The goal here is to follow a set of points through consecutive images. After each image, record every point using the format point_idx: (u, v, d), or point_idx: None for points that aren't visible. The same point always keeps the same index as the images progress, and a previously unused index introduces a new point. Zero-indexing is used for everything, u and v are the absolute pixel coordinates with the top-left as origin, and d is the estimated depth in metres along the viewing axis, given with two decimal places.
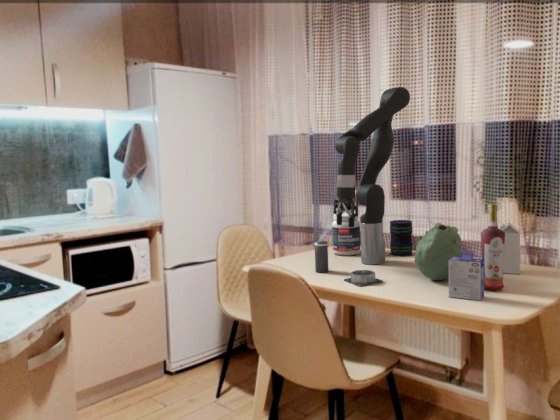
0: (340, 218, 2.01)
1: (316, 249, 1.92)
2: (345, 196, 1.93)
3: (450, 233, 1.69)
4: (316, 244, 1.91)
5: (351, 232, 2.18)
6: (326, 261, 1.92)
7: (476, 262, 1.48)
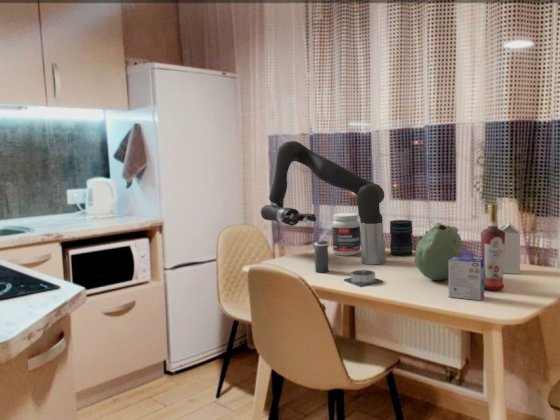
0: (310, 217, 2.06)
1: (316, 249, 1.92)
2: (286, 222, 2.12)
3: (450, 233, 1.69)
4: (316, 244, 1.91)
5: (351, 232, 2.18)
6: (326, 261, 1.92)
7: (476, 262, 1.48)
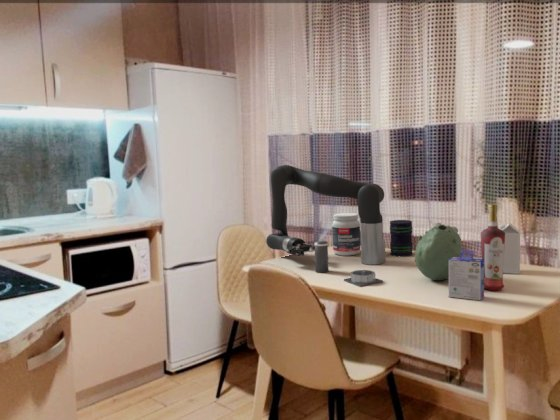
0: None
1: (316, 249, 1.92)
2: None
3: (450, 233, 1.69)
4: (316, 244, 1.91)
5: (351, 232, 2.18)
6: (326, 261, 1.92)
7: (476, 262, 1.48)
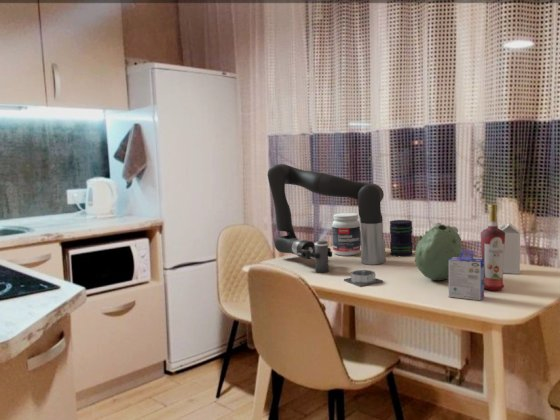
0: None
1: (316, 249, 1.92)
2: None
3: (450, 233, 1.69)
4: (316, 244, 1.91)
5: (351, 232, 2.18)
6: (326, 261, 1.92)
7: (476, 262, 1.48)
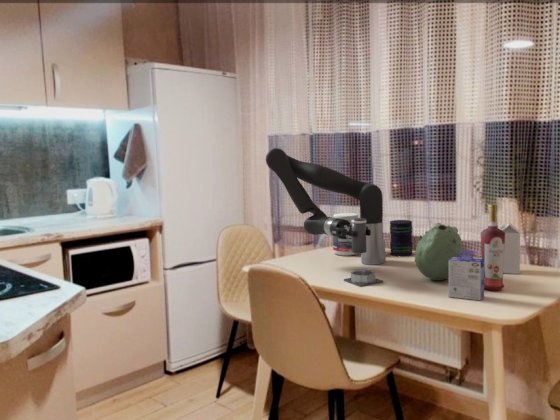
0: None
1: (353, 227, 1.73)
2: (336, 235, 1.83)
3: (450, 233, 1.69)
4: (354, 221, 1.73)
5: None
6: (364, 240, 1.74)
7: (476, 262, 1.48)
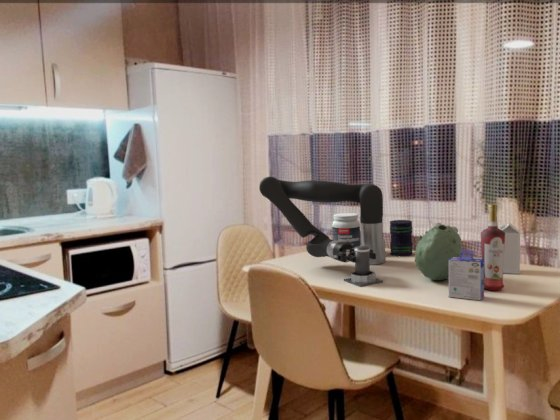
0: (369, 254, 1.78)
1: (357, 255, 1.74)
2: None
3: (450, 233, 1.69)
4: (357, 250, 1.73)
5: (351, 232, 2.18)
6: (368, 269, 1.74)
7: (476, 262, 1.48)
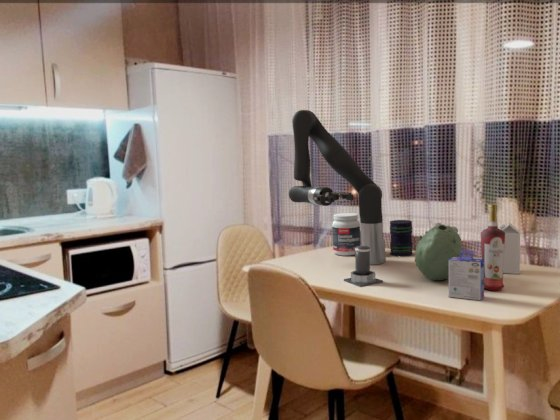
0: (347, 196, 1.87)
1: (357, 255, 1.74)
2: (319, 202, 1.93)
3: (450, 233, 1.69)
4: (358, 249, 1.73)
5: (351, 232, 2.18)
6: (368, 268, 1.74)
7: (476, 262, 1.48)
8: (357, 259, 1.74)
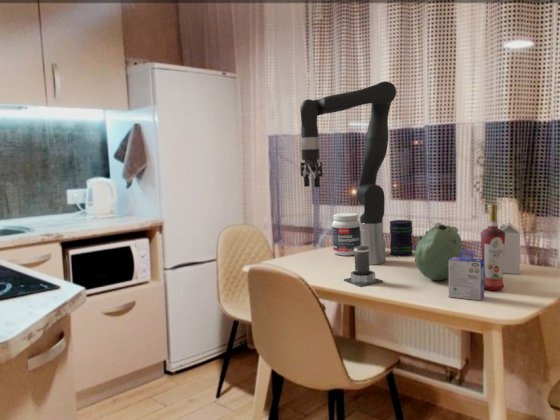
0: (307, 180, 2.08)
1: (357, 256, 1.73)
2: (309, 158, 2.00)
3: (450, 233, 1.69)
4: (357, 250, 1.73)
5: (351, 232, 2.18)
6: (368, 268, 1.74)
7: (476, 262, 1.48)
8: (356, 260, 1.74)
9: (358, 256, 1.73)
